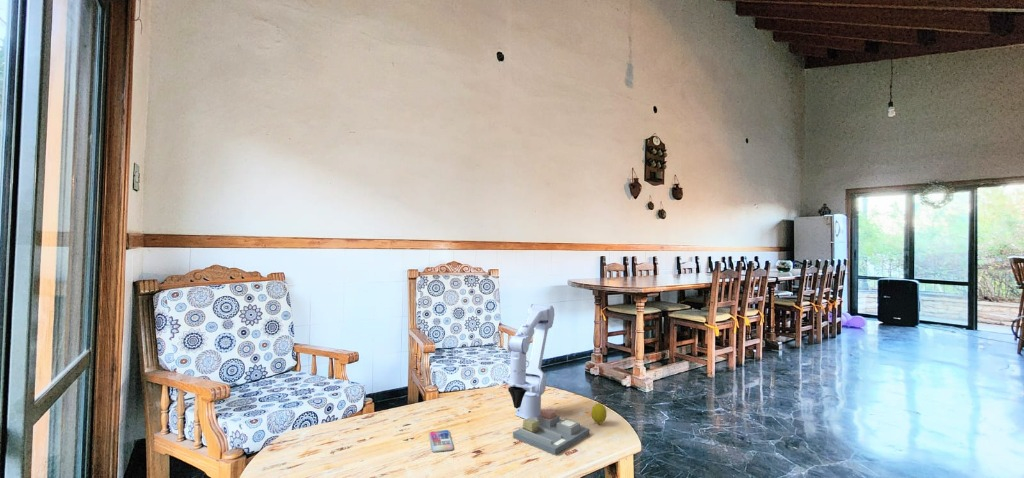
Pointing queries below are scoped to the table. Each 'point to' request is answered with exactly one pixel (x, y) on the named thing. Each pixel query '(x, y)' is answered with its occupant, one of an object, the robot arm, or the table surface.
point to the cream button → (568, 423)
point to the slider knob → (531, 425)
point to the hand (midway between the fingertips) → (517, 407)
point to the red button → (548, 414)
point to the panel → (552, 435)
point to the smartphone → (440, 441)
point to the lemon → (599, 413)
